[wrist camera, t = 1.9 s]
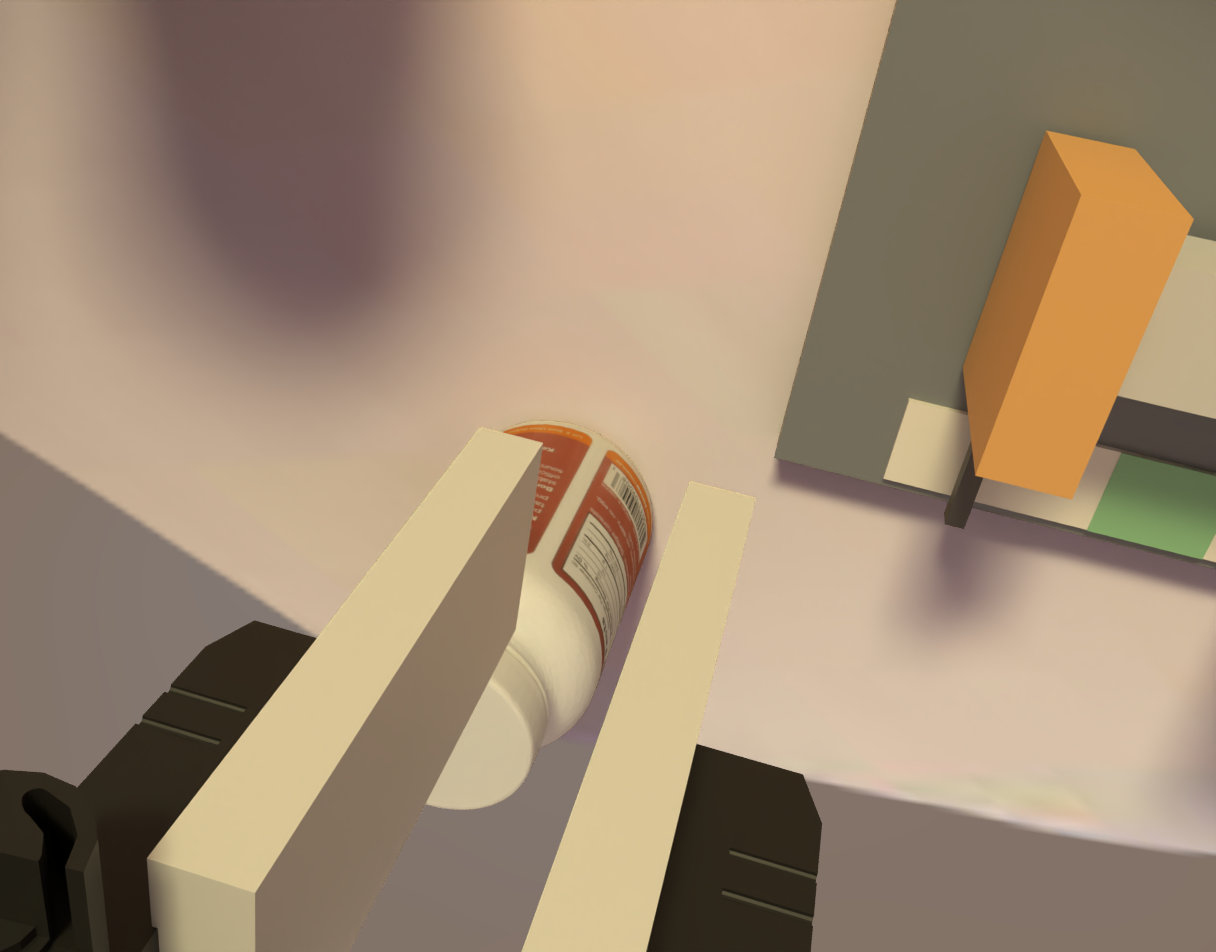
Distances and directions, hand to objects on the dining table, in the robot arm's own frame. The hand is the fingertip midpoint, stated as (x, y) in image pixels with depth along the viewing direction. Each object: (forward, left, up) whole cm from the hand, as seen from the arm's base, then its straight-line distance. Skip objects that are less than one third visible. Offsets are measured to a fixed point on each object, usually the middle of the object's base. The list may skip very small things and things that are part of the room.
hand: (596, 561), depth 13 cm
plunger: (+11, -2, -17) cm, 20 cm away
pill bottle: (-4, -11, -19) cm, 22 cm away
